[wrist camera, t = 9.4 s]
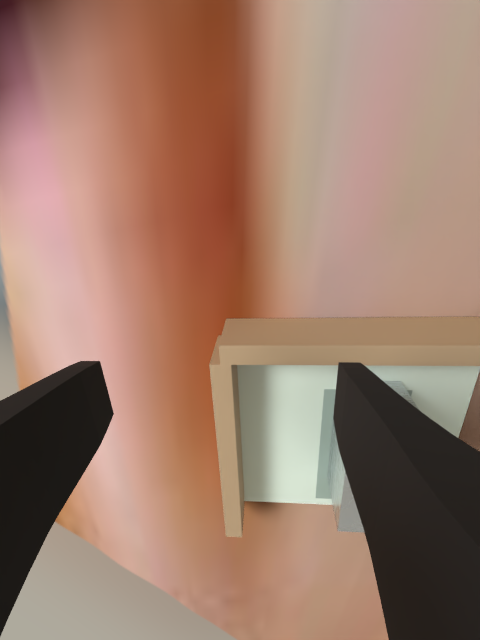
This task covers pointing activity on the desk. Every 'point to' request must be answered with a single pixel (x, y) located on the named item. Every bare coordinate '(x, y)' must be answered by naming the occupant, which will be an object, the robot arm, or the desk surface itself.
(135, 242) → the desk surface
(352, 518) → the bracket
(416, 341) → the corner arena
